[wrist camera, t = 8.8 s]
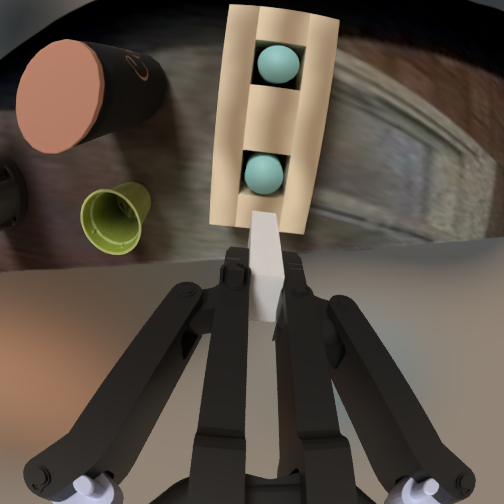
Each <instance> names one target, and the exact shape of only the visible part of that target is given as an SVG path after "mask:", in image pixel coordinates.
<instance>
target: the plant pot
mask: <svg viewBox="0 0 504 504" xmlns="http://www.w3.org/2000/svg"><path fill="white" fill-rule="evenodd" d="M121 203H122V205H123V207H124V208H125V210H124V209H123V208H122V206H121ZM150 207H151V197H150V194H149V192H148V190H147V189H146V188H145V187H144V186H143V185H141V184H139V183H136V182H126V183H124V184H122V185H119V186H117V187H115V188H113V189H101V190H97V191H95V192H93V193H92V194H90V195H89V196H88V197H87V198H86V200H85V201H84V203H83V206H82V209H81V223H82V227H83V230H84V232H85V234H86V236H87V238H88V239H89V240H90V241H91V243H92V244H93V245H95V246H96V247H97V248H98V249H100V250H102V251H104V252H106V253H109V254H113V255H121V254H125V253H128V252H129V251H131V250H132V249H133V248H134V247H135V246H136V245H137V243H138V242H139V239H140V236H141V231H142V224H143V222H144V220H145V218H146V216H147V214H148V212H149V210H150Z"/></svg>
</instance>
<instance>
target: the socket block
mask: <svg viewBox="0 0 504 504" xmlns="http://www.w3.org/2000/svg"><path fill="white" fill-rule="evenodd" d="M338 29H339V20H337V19H333V18H329V17H324V16H320V15H315V14H310V13H305V12H299V11H293V10H286V9H279V8H271V7H261V6H249V5H230V6H229V13H228V20H227V27H226V34H225V42H224V50H223V58H222V67H221V76H220V85H219V95H218V105H217V116H216V128H215V140H214V153H213V167H212V183H211V201H210V221H209V224H214V225H224V226H233V227H243V228H250V223H251V215H252V211H260V212H269V213H276V216H277V223H278V230H279V232H287V233H295V234H303V235H304V231H305V226H306V222H307V217H308V212H309V207H310V203H311V198H312V193H313V188H314V183H315V178H316V172H317V167H318V162H319V156H320V151H321V145H322V140H323V134H324V128H325V122H326V116H327V110H328V104H329V97H330V90H331V84H332V77H333V70H334V62H335V54H336V46H337V38H338ZM277 45H279V46H285V47H287V48H289V49H291V50H292V51H293V52H294V53H295V54H296V55H297V57H298V59H299V70H298V72H297V74H296V75H295V76H294V77H293V82H292V89H285V88H278V87H271V86H262V85H253V80H254V71H255V63H256V55H257V52H258V53H262V52H263V51H264V50H265V49H267V48H268V47H271V46H277ZM245 150H251V151H260V152H268V153H276V154H282V160H281V167H282V171H283V181H282V184H281V186H280V187H279V188H278V189H277V190H276V191H274V192H272V193H269V194H259V193H256V192H254V191H252V190H251V189H250V188H249V187H248V185H247V184H246V181H245V172H243V168H244V159H245Z"/></svg>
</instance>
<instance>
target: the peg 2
mask: <svg viewBox="0 0 504 504" xmlns="http://www.w3.org/2000/svg"><path fill="white" fill-rule="evenodd" d="M245 181H246V184H247V185H248V187H249V188H250V189H251V190H252V191H254V192H256V193H259V194H269V193H272V192H274V191H276V190H277V189H278V188H279V187H280V186H281V184H282V181H283V171H282V167H281V164H280V160H279V156H278V154H276V153H268V152H260V151H250V153H249V156H248V161H247V166H246V171H245Z"/></svg>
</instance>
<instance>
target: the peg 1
mask: <svg viewBox="0 0 504 504" xmlns="http://www.w3.org/2000/svg"><path fill="white" fill-rule="evenodd" d="M298 70H299V59H298V57H297V55H296V54H295V53H294V52H293V51H292V50H291V49H289V48H287V47H285V46H279V45H277V46H271V47H268V48H267V49H265V50H264V51H263V52H262V53H261V54H260V56H259V59H258V71H259V76H260V78H261V79H262V80H263V81H264V82H265V83H267V84H269V85H275V86H276V85H281V84H283V83H285V82H287V81H289V80H291V79H292V78H293V77H294V76H295V75H296V74H297V72H298Z"/></svg>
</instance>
